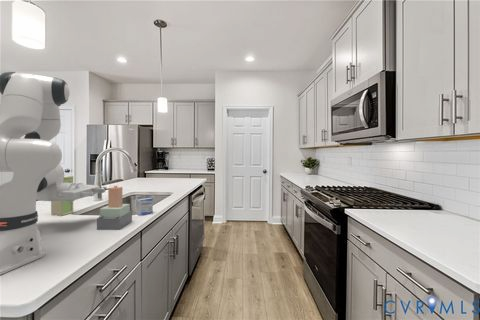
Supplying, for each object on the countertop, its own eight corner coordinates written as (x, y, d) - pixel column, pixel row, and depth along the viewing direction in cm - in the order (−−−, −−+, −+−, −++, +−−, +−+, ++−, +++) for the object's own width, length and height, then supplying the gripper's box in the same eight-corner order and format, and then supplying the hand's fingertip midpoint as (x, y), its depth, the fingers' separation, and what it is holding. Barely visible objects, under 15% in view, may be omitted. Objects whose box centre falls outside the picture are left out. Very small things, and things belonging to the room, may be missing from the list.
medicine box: (140, 215, 135) (140, 200, 135) (135, 214, 138) (135, 199, 138) (152, 213, 142) (153, 198, 141) (148, 212, 144) (148, 197, 144)
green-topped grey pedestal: (119, 229, 111) (119, 209, 110) (96, 229, 110) (96, 209, 110) (131, 221, 125) (132, 203, 124) (111, 220, 124) (112, 203, 124)
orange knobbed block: (118, 207, 115) (118, 186, 115) (108, 207, 115) (108, 186, 115) (122, 205, 120) (122, 185, 119) (112, 205, 119) (113, 185, 119)
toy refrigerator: (61, 216, 132) (61, 177, 131) (50, 215, 133) (50, 176, 133) (74, 212, 139) (74, 175, 139) (63, 211, 141) (63, 175, 140)
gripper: (53, 188, 106) (86, 189, 106) (82, 182, 126) (109, 183, 127) (53, 203, 106) (86, 203, 107) (82, 195, 127) (109, 195, 127)
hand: (99, 192), depth 117 cm, fingers open, 8 cm apart
